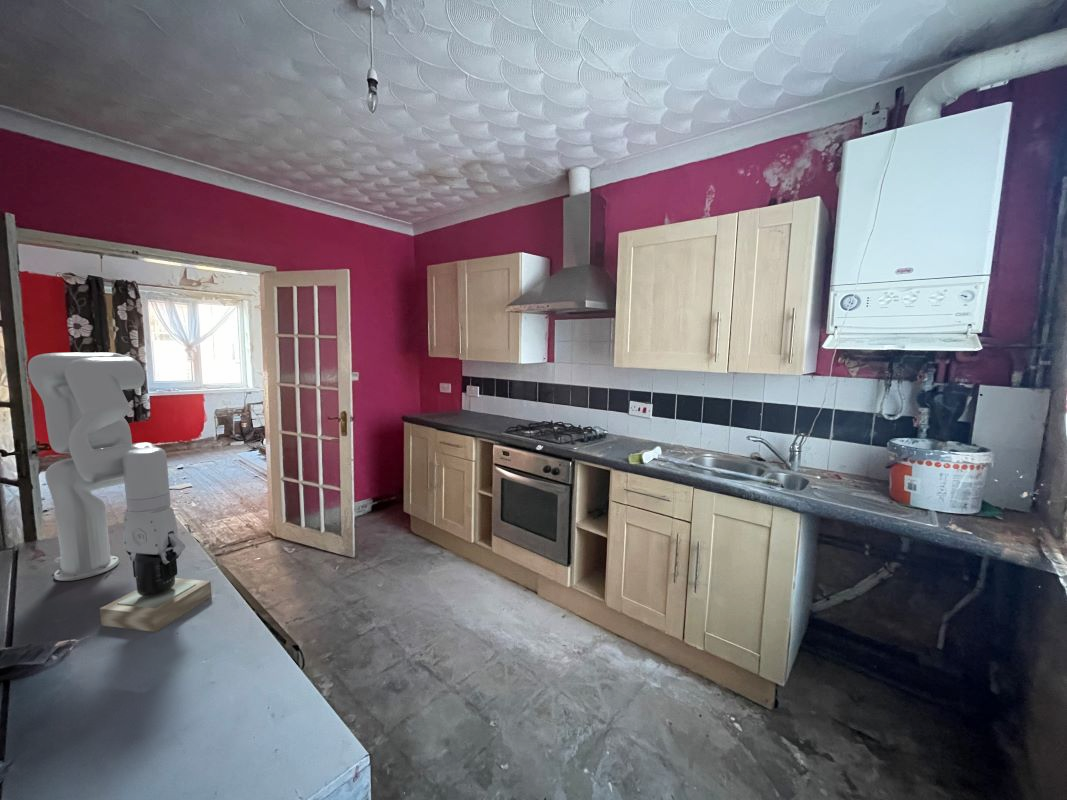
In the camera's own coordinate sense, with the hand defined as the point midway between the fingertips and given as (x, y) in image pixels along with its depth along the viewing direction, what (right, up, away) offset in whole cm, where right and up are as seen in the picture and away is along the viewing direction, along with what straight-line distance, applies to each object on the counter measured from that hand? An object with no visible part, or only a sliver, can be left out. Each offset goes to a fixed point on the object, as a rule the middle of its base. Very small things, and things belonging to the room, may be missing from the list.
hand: (156, 575), depth 103 cm
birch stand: (0, -9, +1) cm, 9 cm away
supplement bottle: (0, -3, 0) cm, 3 cm away
